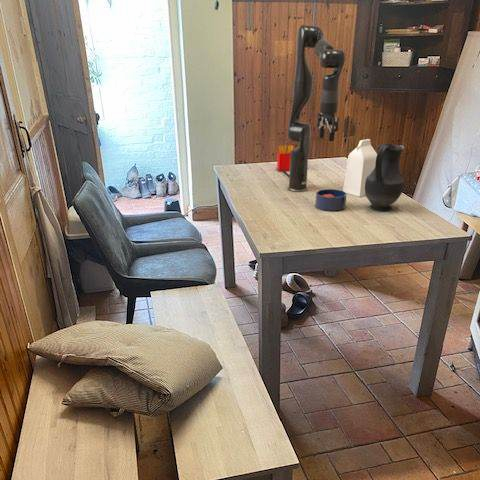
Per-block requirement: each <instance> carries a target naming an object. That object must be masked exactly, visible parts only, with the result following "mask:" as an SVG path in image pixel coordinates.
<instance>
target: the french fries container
mask: <svg viewBox="0 0 480 480" xmlns="http://www.w3.org/2000/svg"><path fill="white" fill-rule="evenodd" d="M294 147H295V146H294V145H293V144H290V145H289V144H288V148H287V144H285V145H282V144H281V145H279V146H278V151H277V161H276V163H277V164H276V169H277V171H279V172H283V171H282V170H284V171H285V172H290V152H291V150H292V149H295V148H294Z"/></svg>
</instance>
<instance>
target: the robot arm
mask: <svg viewBox="0 0 480 480" xmlns="http://www.w3.org/2000/svg"><path fill="white" fill-rule="evenodd" d="M326 37H327V36H326V35H325V33H324V32H323V29H322V28H321V27H320V26H318V25H309V24H301V25H300V26H299V27H298V30H297V34H296V60H295V70H294V79H293V88H292V103H291V110H290V116H289V122H288V128H287V139H288V140H289V141H290V142H295V143H299V146H298V147H296V148H293V149H292V150H291V152H290V171H289V173H288V172H287V171H284V170H282V171H281V172H282V173H284V174H285V176H287V177H289V179H288V181H289V182H288V190H289V191H291V192H304V191H306V190H307V183H308V167H309V153H310V150H311V141H312V140H311V139H312V126H311V124H309V123H307V122H300V118H301V114H302V111H303V109H304V108H305V107H306V105H307V104H308V102H309V101H310V98H311V97H312V95H313V87H314V78H313V77H314V76H313V74H312V71H311V69H310V67H309V64H308V62H307V58H306V49H314V53H315V55H316V57H317V58H319V65H320V66H321V68H323V69H333V70H332V72H330V73H328V74H325V75H323V77H322V84H321V85H322V86H321V94H320V106H319V107H320V108H319V113H318V114H317V119H316V120H317V121H316V123H317V124H316V127H317V128H318V130H319V134H318V137H319V139H324V138H325V128H326V127H327V129H328V131H329V133H328V142H334V141H335V133H336V132H338V131H339V117H338V116H335V114H337V112H338V107H339V105H338V104H339V87H340V86H339V85H340V79H341V75H342V71H343V68H344V65H345V63H346V53H345V51H344V50H343V49H340V48H339V49H335V47H334V46H333V45H332V44H331V43H330V42H329V41H328V40H327V38H326Z"/></svg>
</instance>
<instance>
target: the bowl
mask: <svg viewBox="0 0 480 480" xmlns="http://www.w3.org/2000/svg"><path fill="white" fill-rule="evenodd" d="M325 194H331V195H333V196H335V197H324V196H322V195H325ZM347 194H348V193H346V192H344V191H343V190H341V189H337V188H336V189H335V188H324V189H319V190H317V191H316V192H315V201H314V202H315V203H314V206H315V207H316V208H318V209H319V210H321V211H328V212H333V211H334V212H335V211H340V210H343V209H345V208H346V205H347V196H348V195H347Z"/></svg>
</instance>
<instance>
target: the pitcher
mask: <svg viewBox="0 0 480 480" xmlns="http://www.w3.org/2000/svg"><path fill="white" fill-rule="evenodd" d="M376 148H377V150H378V151H377V157H376V163H375V168H374V170H373V171H372V172H371V174H370V175H368V176H367V178H366V181H365V194H366V195H365V196H366V198H367V200H368V201H369V202H370V205H369V208H370V210H373V211H376V212H389V211H391V210H392V207H391V205H393V204H394V203H395V202H397V201H398V199H399V198H400V197H401V196H402V193H403V191H404V187H405V179H404V178H403V176H402V174H401V171H400V158H401V156H402V153H403V151H404V150H405V146H403V145H401V144H400V145H397V144H393V143H381V144H377V146H376Z"/></svg>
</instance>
